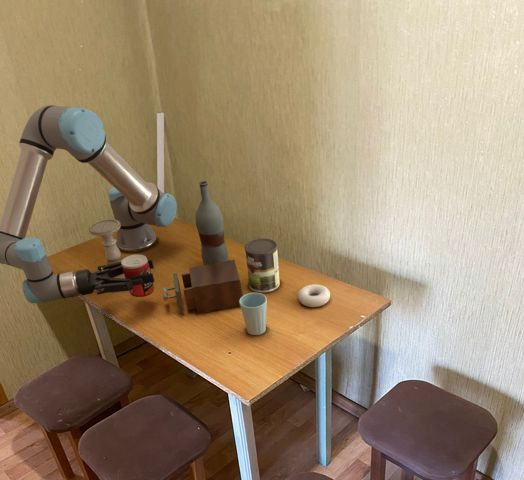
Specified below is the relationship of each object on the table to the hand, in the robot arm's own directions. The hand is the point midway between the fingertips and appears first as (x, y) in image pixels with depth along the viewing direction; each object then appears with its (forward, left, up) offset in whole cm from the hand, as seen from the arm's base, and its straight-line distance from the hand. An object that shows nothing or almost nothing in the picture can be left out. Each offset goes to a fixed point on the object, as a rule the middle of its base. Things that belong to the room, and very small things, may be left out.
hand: (153, 270), depth 162 cm
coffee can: (-1, +34, -12) cm, 36 cm away
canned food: (0, -5, -7) cm, 8 cm away
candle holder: (-21, -14, -12) cm, 28 cm away
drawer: (+3, +10, -11) cm, 16 cm away
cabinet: (+3, +18, -12) cm, 22 cm away
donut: (+13, +47, -12) cm, 50 cm away
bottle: (-19, +20, -12) cm, 30 cm away
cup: (+23, +27, -12) cm, 38 cm away
